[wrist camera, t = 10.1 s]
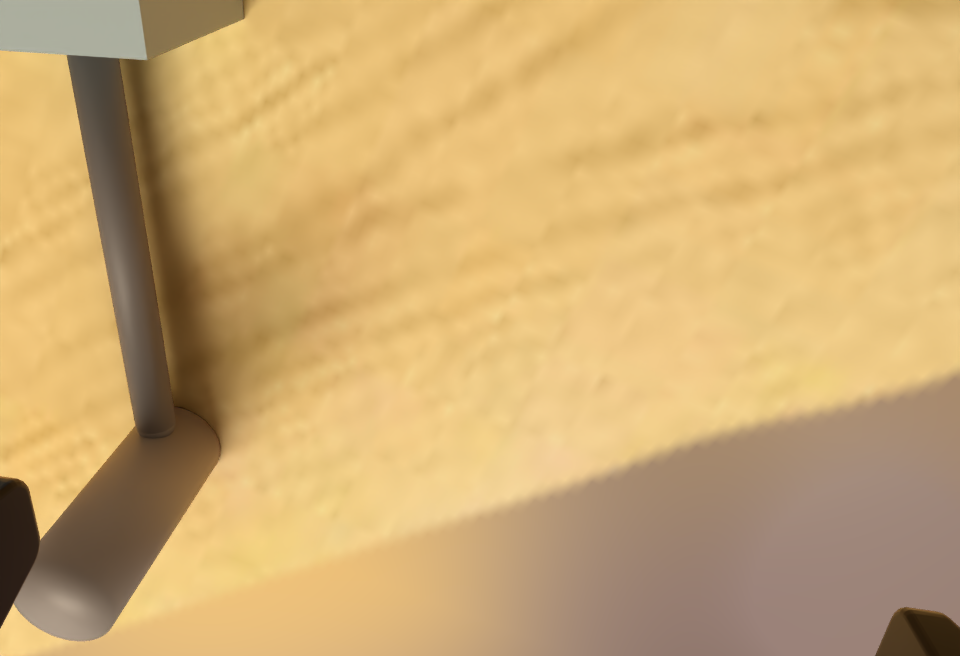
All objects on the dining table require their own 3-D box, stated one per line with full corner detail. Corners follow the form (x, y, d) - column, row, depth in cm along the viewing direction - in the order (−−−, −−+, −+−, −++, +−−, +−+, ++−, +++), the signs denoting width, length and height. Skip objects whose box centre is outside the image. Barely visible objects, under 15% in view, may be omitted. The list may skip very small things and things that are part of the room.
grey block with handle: (207, -401, 15) (-3, -545, 10) (285, 487, 24) (199, 657, 19) (-112, -406, 16) (-474, -546, 10) (85, 465, 25) (-52, 624, 20)
